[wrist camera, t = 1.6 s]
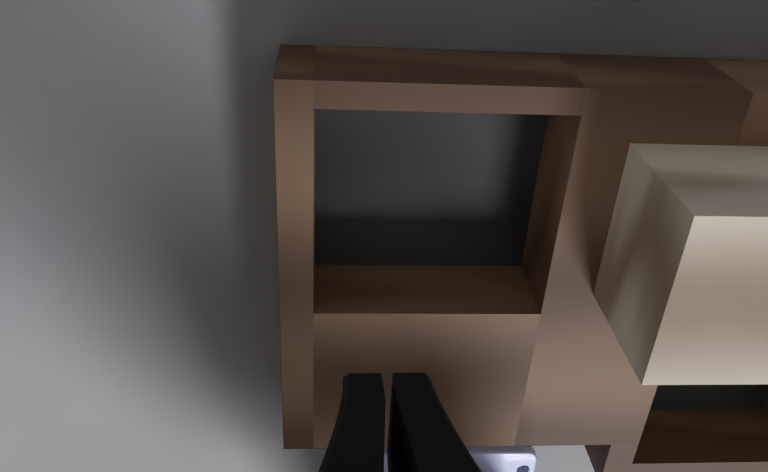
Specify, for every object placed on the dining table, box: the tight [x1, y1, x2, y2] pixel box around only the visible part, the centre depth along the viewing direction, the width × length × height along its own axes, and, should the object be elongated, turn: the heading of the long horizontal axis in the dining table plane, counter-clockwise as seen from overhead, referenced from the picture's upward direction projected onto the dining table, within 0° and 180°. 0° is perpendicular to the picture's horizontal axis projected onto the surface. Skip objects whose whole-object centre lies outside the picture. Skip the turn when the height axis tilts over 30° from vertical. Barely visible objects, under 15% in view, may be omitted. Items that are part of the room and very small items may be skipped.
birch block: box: [593, 143, 768, 385], centre depth 19 cm, size 5×5×4 cm
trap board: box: [273, 45, 768, 472], centre depth 23 cm, size 15×26×5 cm, turn 87°
